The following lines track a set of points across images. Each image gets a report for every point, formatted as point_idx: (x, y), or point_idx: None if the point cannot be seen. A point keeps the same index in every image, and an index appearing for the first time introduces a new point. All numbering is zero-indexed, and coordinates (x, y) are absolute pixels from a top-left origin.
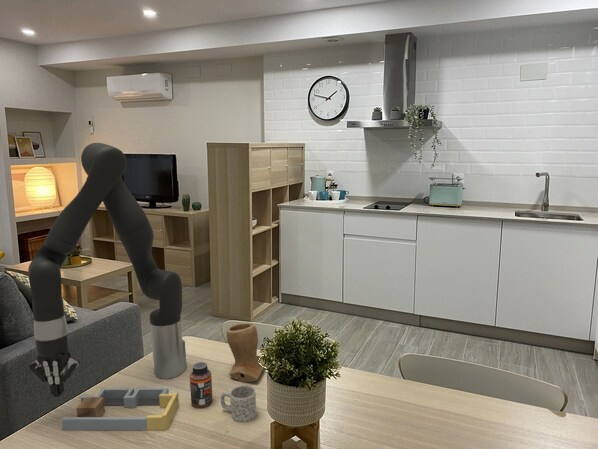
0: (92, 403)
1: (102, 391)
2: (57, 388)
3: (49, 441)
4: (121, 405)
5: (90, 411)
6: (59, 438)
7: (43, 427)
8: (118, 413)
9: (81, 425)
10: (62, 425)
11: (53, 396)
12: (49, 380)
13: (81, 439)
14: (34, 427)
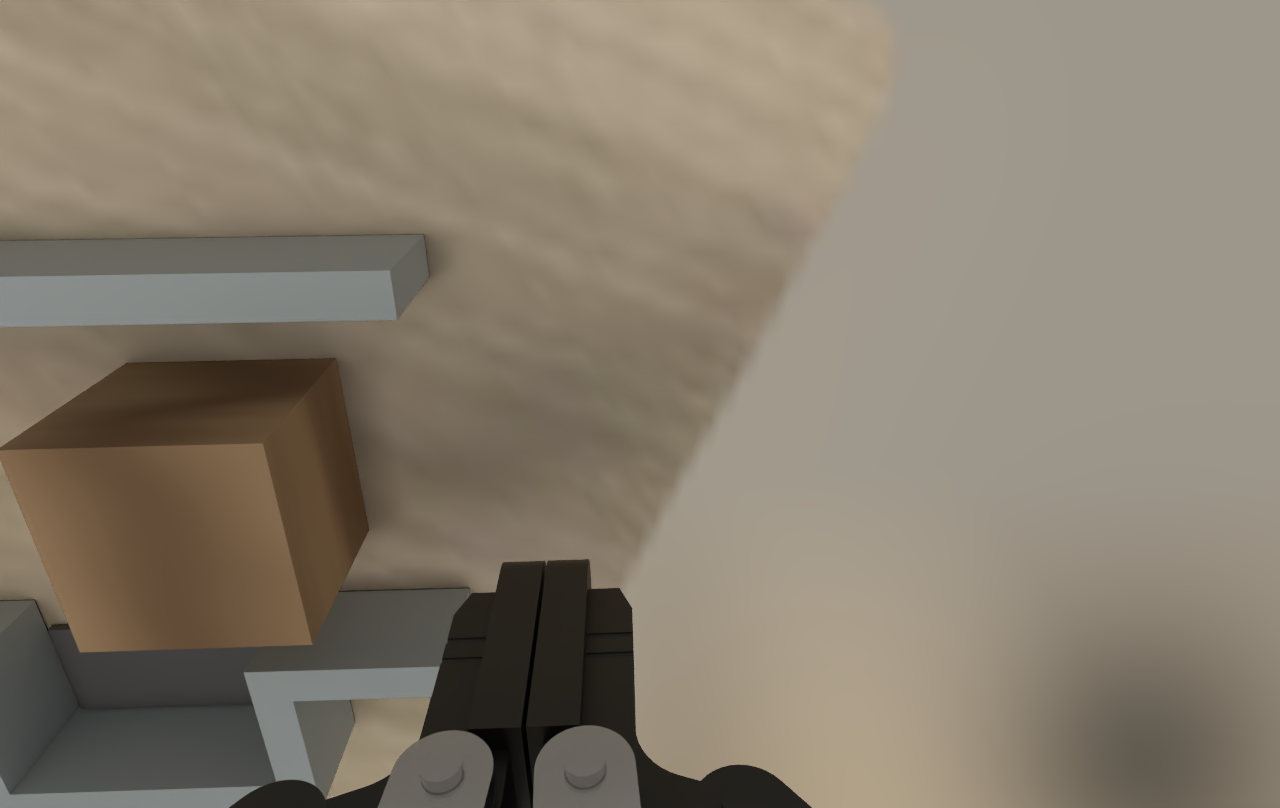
0: (117, 537)
1: (281, 764)
2: (478, 663)
3: (442, 14)
4: None
5: (101, 425)
6: (358, 76)
7: (673, 279)
8: (19, 516)
9: (166, 251)
10: (405, 249)
11: (582, 561)
12: (610, 805)
13: (70, 58)
14: (774, 278)
